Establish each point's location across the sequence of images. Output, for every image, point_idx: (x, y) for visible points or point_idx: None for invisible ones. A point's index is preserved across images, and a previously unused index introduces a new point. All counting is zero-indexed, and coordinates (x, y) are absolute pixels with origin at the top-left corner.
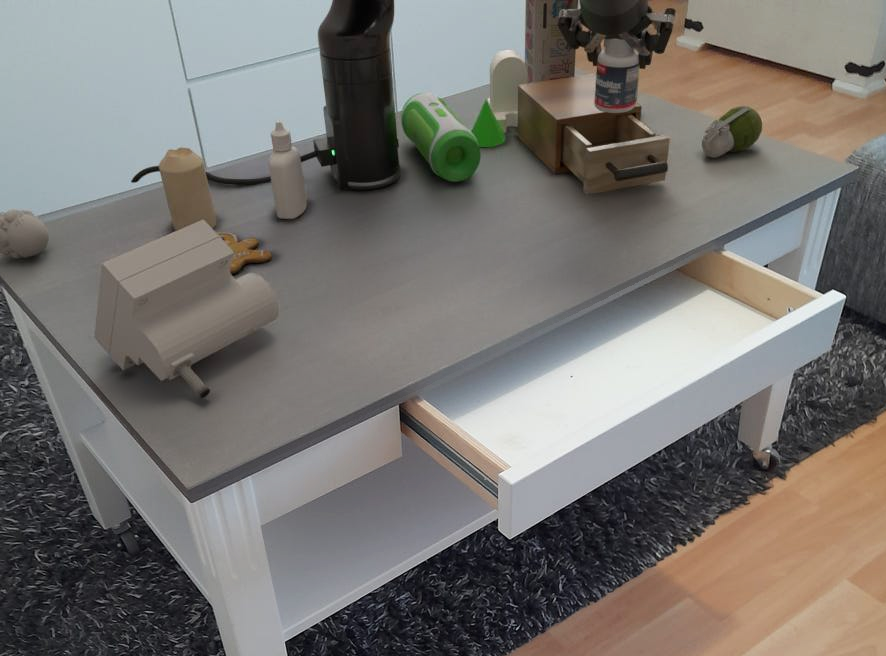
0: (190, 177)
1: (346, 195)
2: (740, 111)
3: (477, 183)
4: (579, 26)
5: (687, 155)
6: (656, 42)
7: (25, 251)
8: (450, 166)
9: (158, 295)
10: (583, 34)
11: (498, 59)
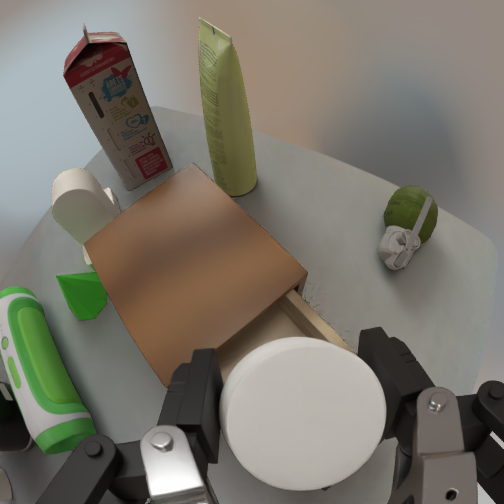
0: None
1: (18, 457)
2: (424, 208)
3: (107, 431)
4: (103, 492)
5: (359, 264)
6: (470, 446)
7: None
8: (68, 438)
9: None
10: (137, 482)
11: (53, 198)
